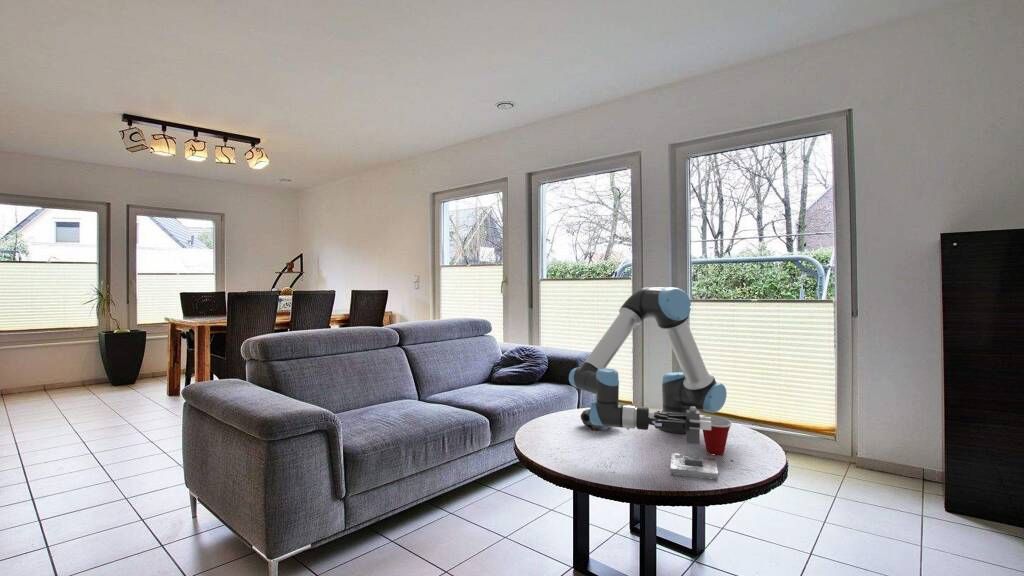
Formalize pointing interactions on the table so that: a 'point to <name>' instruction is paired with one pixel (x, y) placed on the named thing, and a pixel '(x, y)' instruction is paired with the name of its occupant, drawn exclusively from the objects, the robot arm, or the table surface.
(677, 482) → the table surface
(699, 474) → the socket
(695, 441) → the plug
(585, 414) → the lucky cat figurine
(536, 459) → the table surface
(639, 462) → the table surface
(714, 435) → the plastic cup
